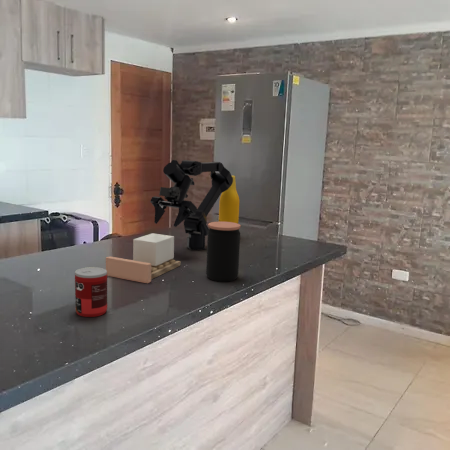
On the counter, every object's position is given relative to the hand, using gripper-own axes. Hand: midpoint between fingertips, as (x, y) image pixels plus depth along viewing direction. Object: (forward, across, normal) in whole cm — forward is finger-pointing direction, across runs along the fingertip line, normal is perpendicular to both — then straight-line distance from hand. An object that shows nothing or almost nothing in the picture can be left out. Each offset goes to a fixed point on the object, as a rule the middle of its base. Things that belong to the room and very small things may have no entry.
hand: (164, 224), depth 173 cm
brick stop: (+26, +7, -15) cm, 31 cm away
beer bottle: (-16, 0, +45) cm, 48 cm away
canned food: (+41, +20, -36) cm, 59 cm away
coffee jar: (+14, +30, +3) cm, 33 cm away
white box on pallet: (+15, +5, -4) cm, 16 cm away
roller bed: (+19, +6, -5) cm, 21 cm away
